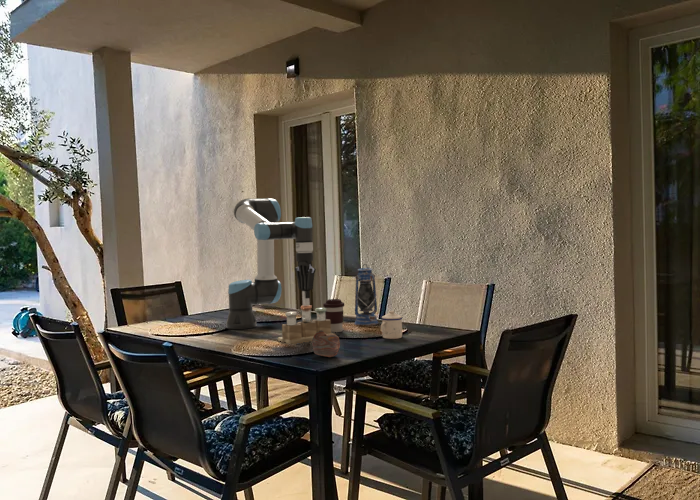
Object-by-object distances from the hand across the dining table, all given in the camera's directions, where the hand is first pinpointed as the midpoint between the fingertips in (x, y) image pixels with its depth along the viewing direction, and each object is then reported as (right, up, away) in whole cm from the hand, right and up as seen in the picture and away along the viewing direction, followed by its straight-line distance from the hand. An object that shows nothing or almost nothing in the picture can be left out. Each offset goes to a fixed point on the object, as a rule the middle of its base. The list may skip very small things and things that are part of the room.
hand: (306, 305), depth 267 cm
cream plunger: (-6, -13, -4) cm, 15 cm away
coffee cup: (+12, -14, +18) cm, 26 cm away
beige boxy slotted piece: (0, -15, +1) cm, 15 cm away
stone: (+12, -16, -35) cm, 41 cm away
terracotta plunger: (0, -10, 0) cm, 10 cm away
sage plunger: (+7, -12, +6) cm, 15 cm away
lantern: (+28, -13, +38) cm, 49 cm away
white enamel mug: (+37, -14, -2) cm, 40 cm away
